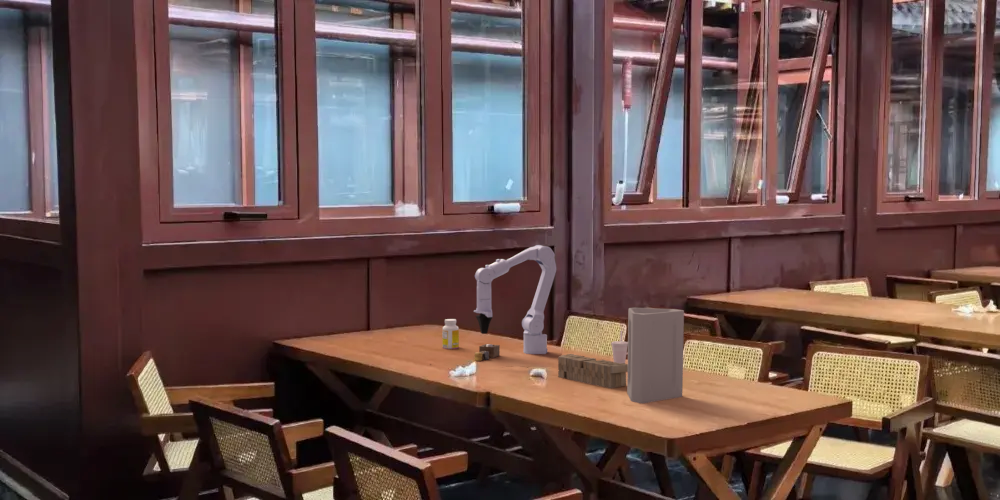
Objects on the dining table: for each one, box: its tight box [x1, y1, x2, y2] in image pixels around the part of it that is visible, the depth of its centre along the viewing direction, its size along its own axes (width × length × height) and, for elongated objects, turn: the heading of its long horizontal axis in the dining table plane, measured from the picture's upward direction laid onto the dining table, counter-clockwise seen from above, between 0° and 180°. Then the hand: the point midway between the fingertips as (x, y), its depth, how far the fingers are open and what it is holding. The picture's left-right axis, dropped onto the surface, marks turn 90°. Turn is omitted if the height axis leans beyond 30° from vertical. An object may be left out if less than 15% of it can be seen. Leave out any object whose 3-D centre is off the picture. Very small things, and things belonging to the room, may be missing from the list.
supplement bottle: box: [441, 318, 460, 350], centre depth 433 cm, size 7×7×13 cm
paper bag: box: [626, 307, 685, 404], centre depth 344 cm, size 19×15×28 cm
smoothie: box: [610, 330, 628, 364], centre depth 396 cm, size 6×6×14 cm
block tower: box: [557, 353, 628, 389], centre depth 370 cm, size 8×8×29 cm
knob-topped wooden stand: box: [474, 343, 501, 362], centre depth 408 cm, size 15×6×4 cm, turn 158°
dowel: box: [483, 351, 490, 361], centre depth 404 cm, size 2×2×4 cm
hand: (484, 333), depth 416 cm, fingers closed
